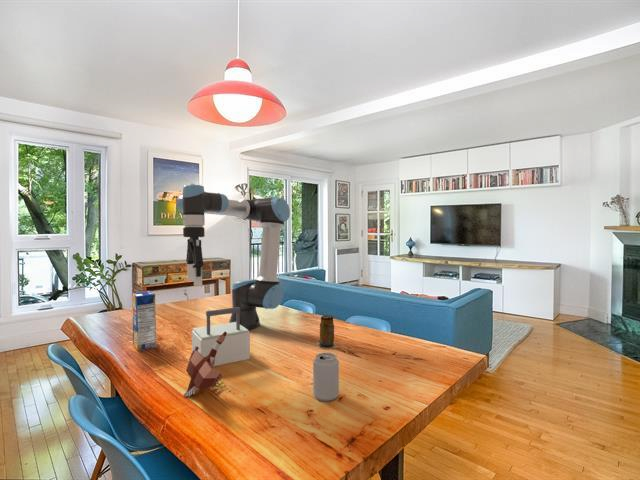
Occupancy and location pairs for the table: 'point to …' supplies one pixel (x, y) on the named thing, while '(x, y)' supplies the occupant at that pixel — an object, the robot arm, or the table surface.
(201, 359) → the decorative bird
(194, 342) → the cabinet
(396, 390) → the table surface
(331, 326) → the condiment
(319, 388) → the can
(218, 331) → the lid flap
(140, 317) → the beverage box
